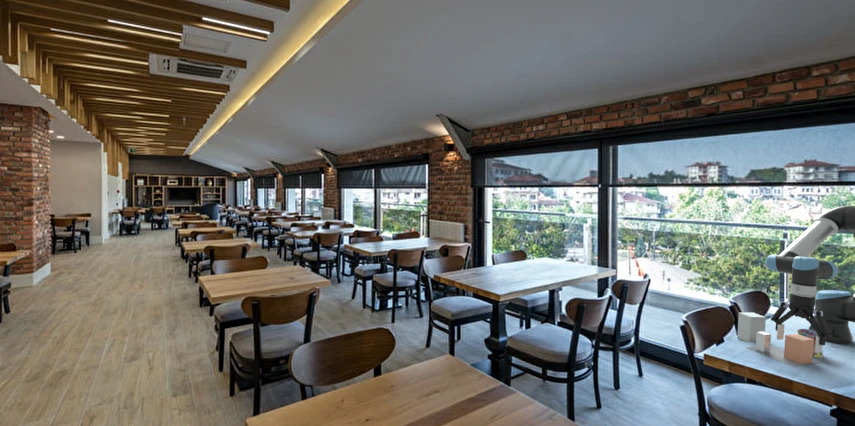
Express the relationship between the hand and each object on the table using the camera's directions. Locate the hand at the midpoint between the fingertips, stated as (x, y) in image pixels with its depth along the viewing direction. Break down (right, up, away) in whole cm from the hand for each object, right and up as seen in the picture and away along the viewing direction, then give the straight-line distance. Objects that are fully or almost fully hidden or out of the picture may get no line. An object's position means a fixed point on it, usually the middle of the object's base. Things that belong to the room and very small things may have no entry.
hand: (798, 345), depth 162 cm
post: (-7, -5, +9) cm, 13 cm away
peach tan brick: (0, -6, 0) cm, 6 cm away
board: (-2, -7, +5) cm, 9 cm away
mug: (+11, -8, +7) cm, 15 cm away
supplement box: (+1, -6, +25) cm, 25 cm away
